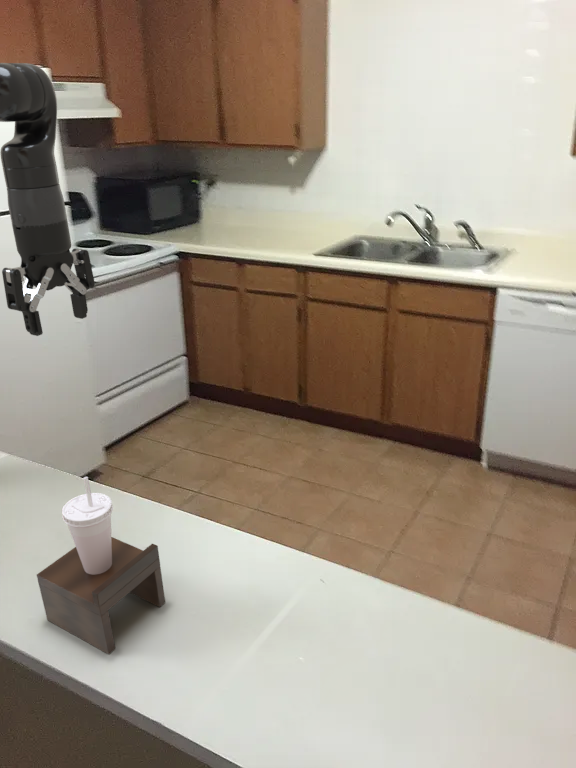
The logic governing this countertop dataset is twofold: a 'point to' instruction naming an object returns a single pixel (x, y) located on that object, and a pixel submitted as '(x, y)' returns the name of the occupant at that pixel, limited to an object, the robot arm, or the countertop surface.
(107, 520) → the smoothie
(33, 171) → the robot arm
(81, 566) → the shelf
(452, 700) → the countertop surface
